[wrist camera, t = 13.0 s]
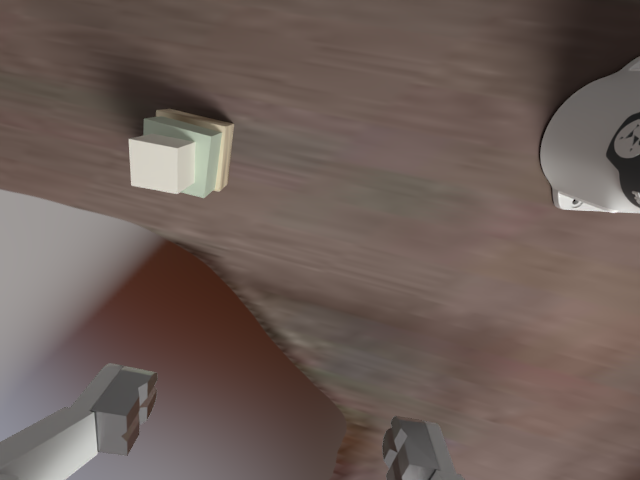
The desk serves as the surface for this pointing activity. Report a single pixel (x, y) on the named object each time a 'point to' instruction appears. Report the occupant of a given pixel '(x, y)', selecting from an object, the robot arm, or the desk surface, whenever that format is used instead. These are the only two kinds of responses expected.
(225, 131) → the tower base
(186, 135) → the green tower middle block
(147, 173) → the cream block
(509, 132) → the desk surface
